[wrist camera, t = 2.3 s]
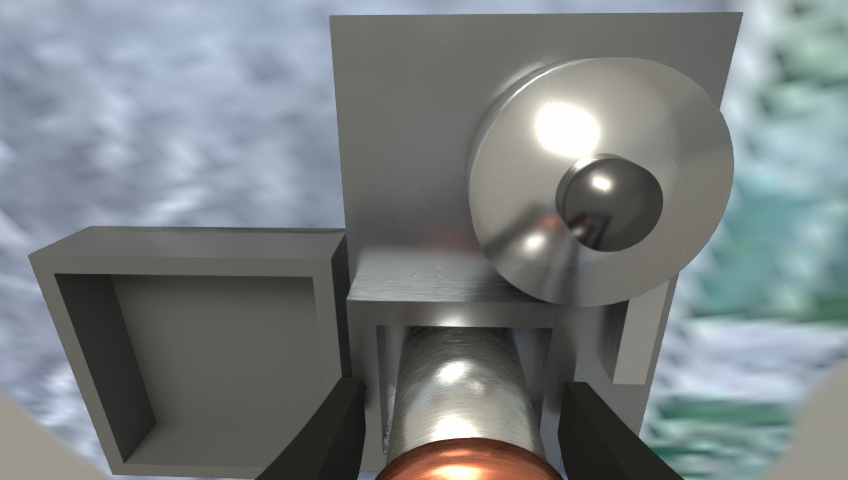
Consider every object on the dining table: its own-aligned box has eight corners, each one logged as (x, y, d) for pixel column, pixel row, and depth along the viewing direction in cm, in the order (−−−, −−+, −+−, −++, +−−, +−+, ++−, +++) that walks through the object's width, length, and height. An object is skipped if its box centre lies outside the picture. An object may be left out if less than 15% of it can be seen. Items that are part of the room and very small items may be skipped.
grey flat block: (615, 406, 17) (678, 529, 13) (370, 400, 18) (345, 518, 13) (697, 20, 12) (855, -8, 8) (345, 22, 12) (290, -2, 8)
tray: (363, 429, 18) (351, 482, 16) (153, 424, 19) (112, 474, 16) (347, 228, 15) (330, 258, 13) (90, 226, 15) (27, 255, 13)
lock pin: (522, 418, 15) (568, 620, 10) (393, 415, 15) (367, 612, 10) (534, 306, 14) (599, 474, 8) (389, 303, 14) (353, 467, 8)
